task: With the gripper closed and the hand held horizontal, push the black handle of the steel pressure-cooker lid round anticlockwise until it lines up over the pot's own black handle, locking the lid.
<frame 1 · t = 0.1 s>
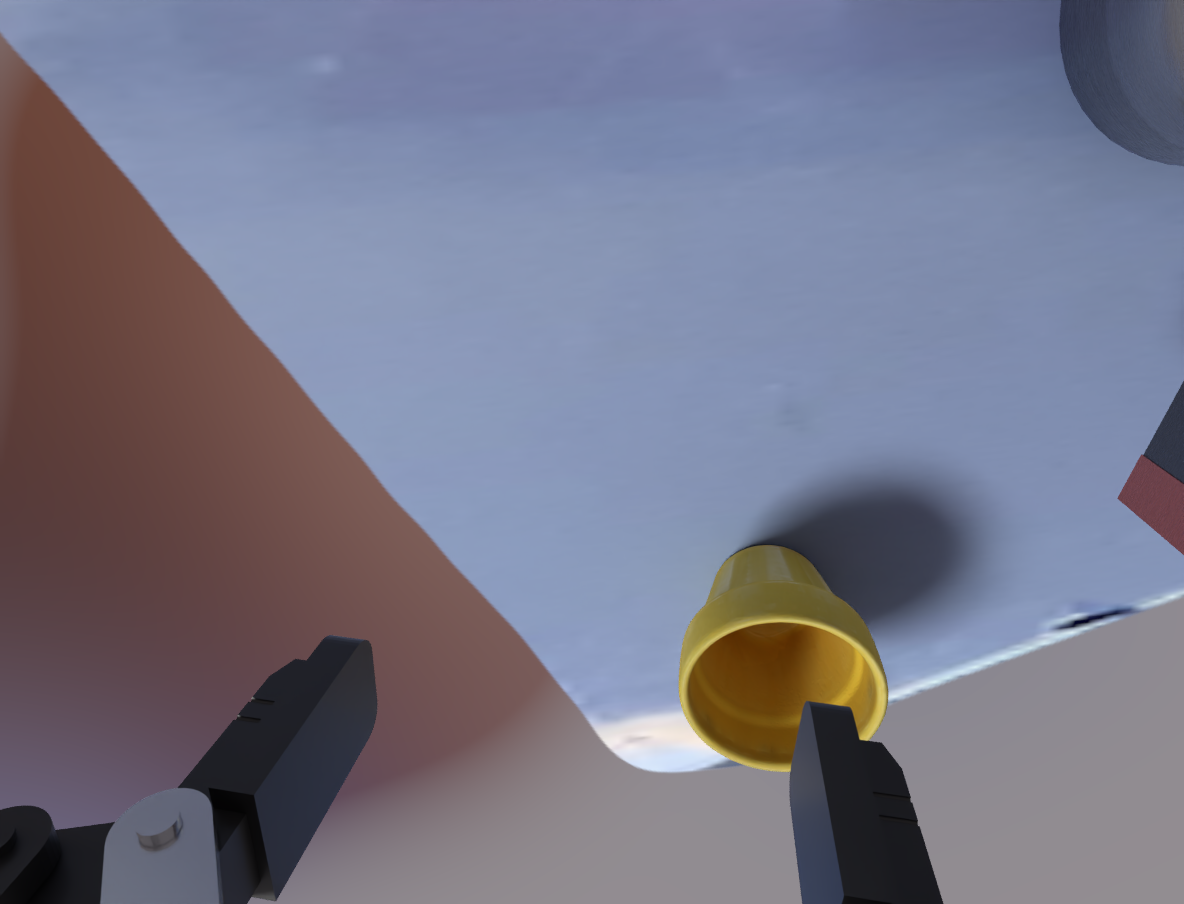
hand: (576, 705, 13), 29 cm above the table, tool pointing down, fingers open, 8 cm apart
plant pot: (766, 588, 45), on the table
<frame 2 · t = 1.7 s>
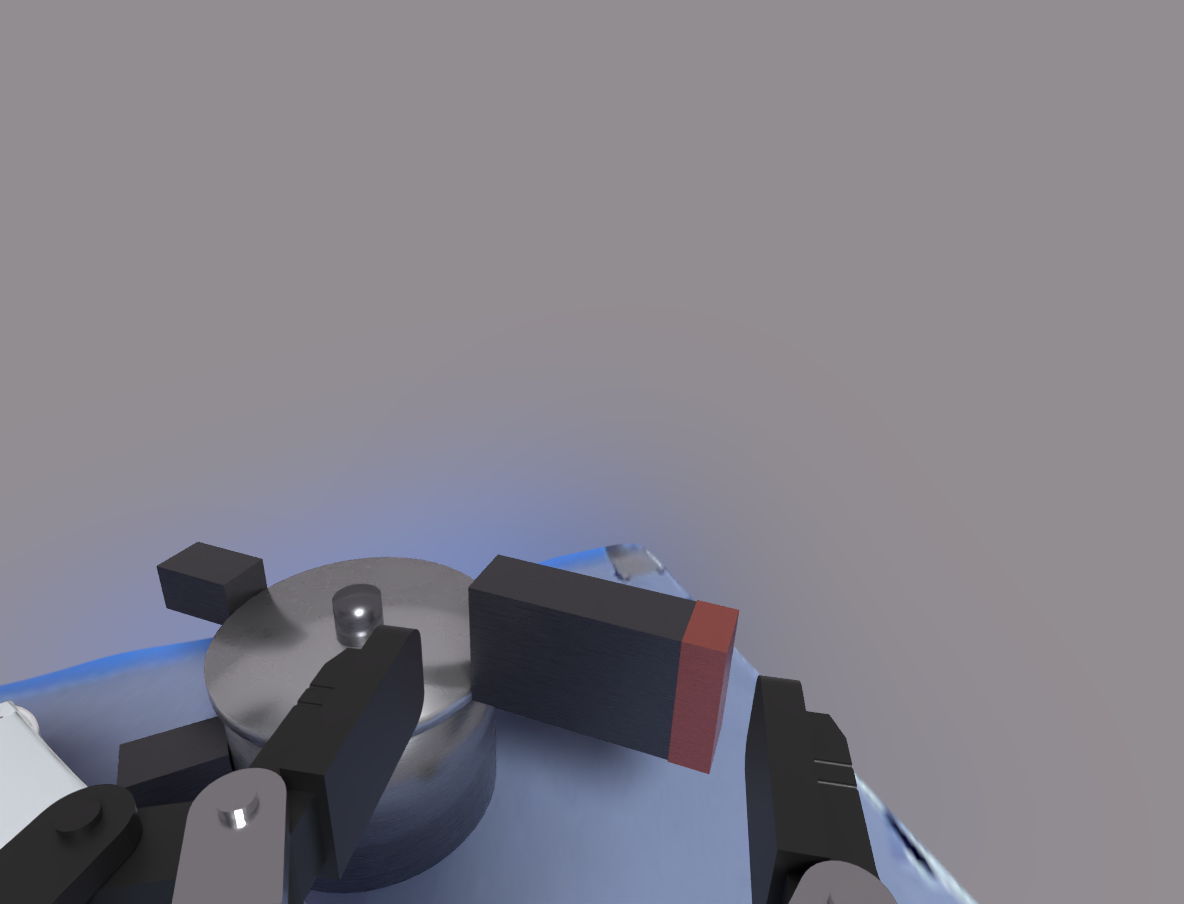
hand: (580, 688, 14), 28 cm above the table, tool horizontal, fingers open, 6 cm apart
pot: (376, 777, 45), on the table
lid: (415, 609, 39), point 14 cm above the table, hinge at 0.0°
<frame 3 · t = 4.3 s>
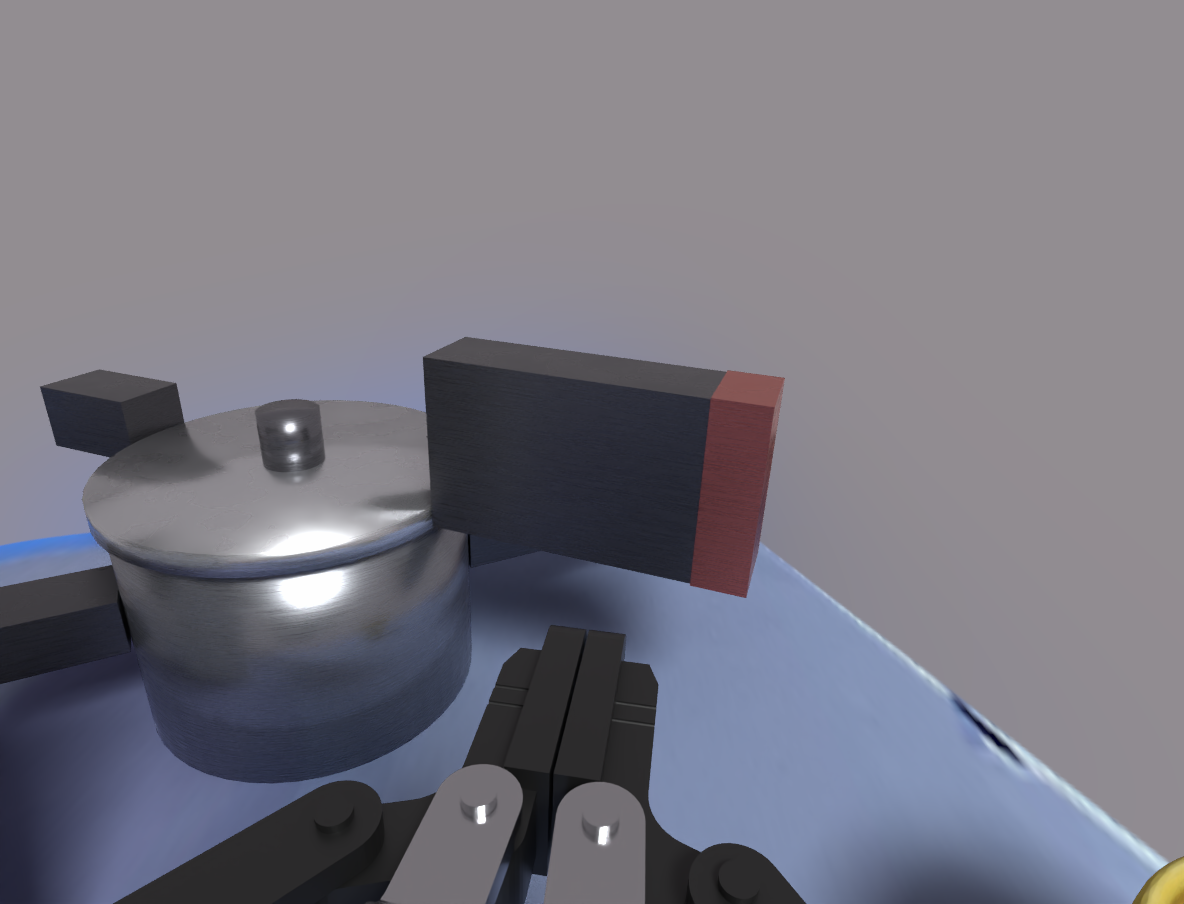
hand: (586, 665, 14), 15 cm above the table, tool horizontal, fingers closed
pot: (322, 661, 37), on the table
lid: (360, 417, 30), point 14 cm above the table, hinge at 0.0°
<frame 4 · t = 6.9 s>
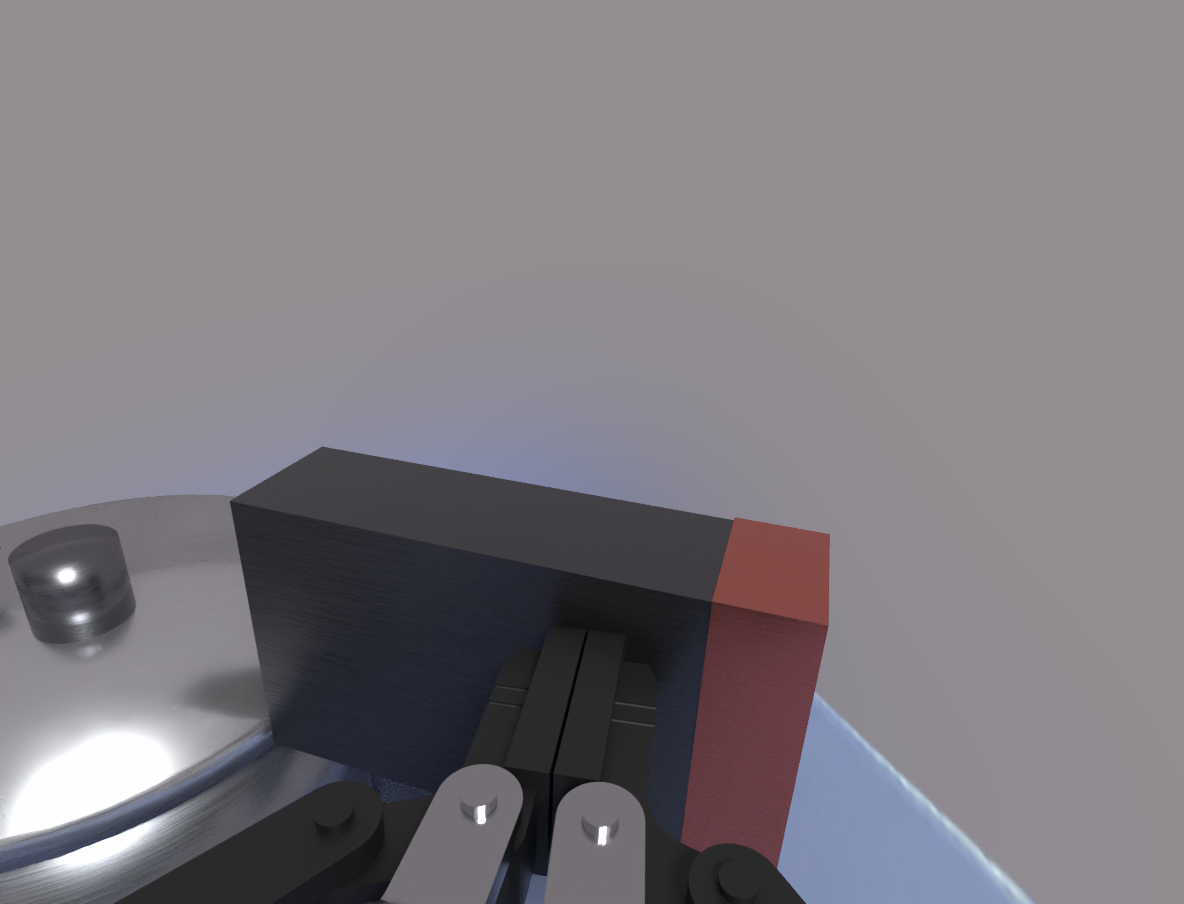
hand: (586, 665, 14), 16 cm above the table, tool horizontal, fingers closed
pot: (161, 871, 26), on the table
lid: (168, 565, 19), point 14 cm above the table, hinge at 1.6°, touching gripper
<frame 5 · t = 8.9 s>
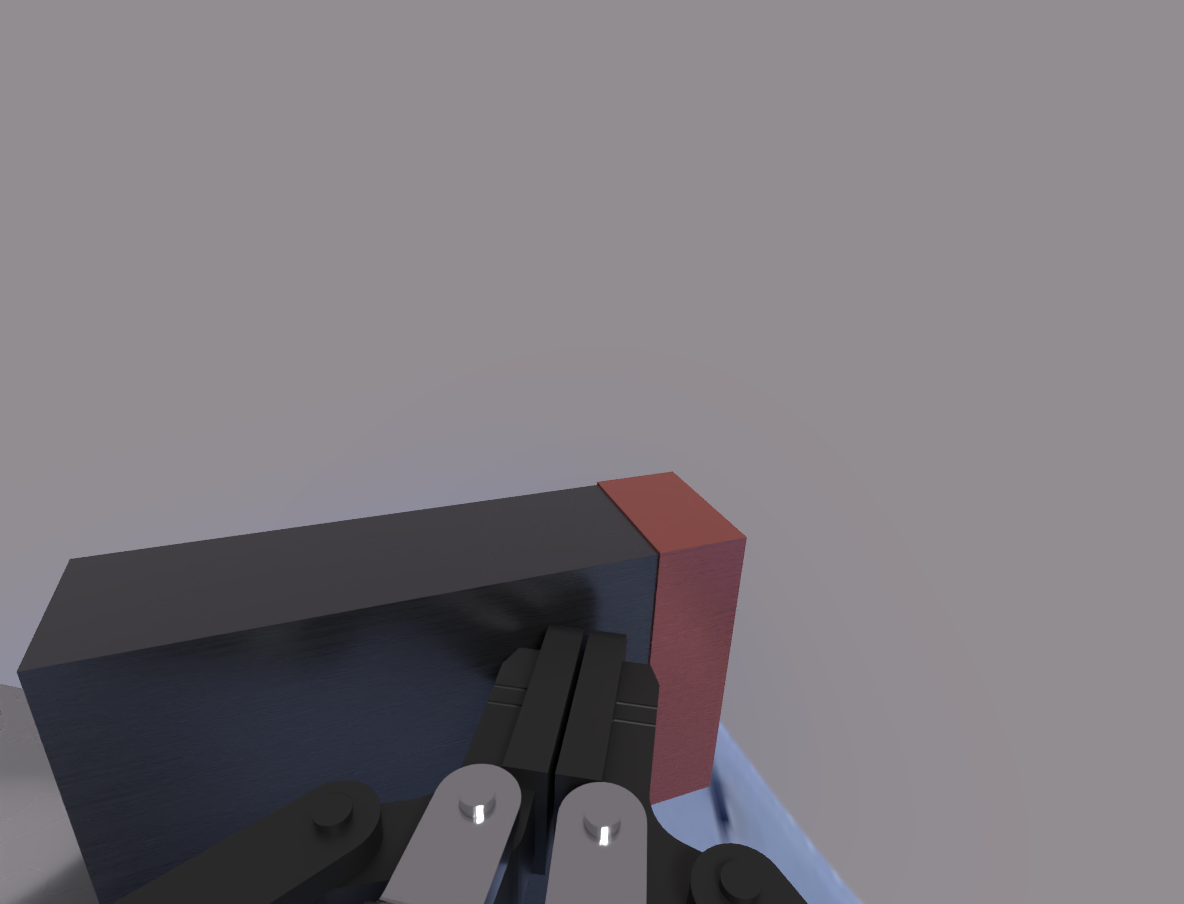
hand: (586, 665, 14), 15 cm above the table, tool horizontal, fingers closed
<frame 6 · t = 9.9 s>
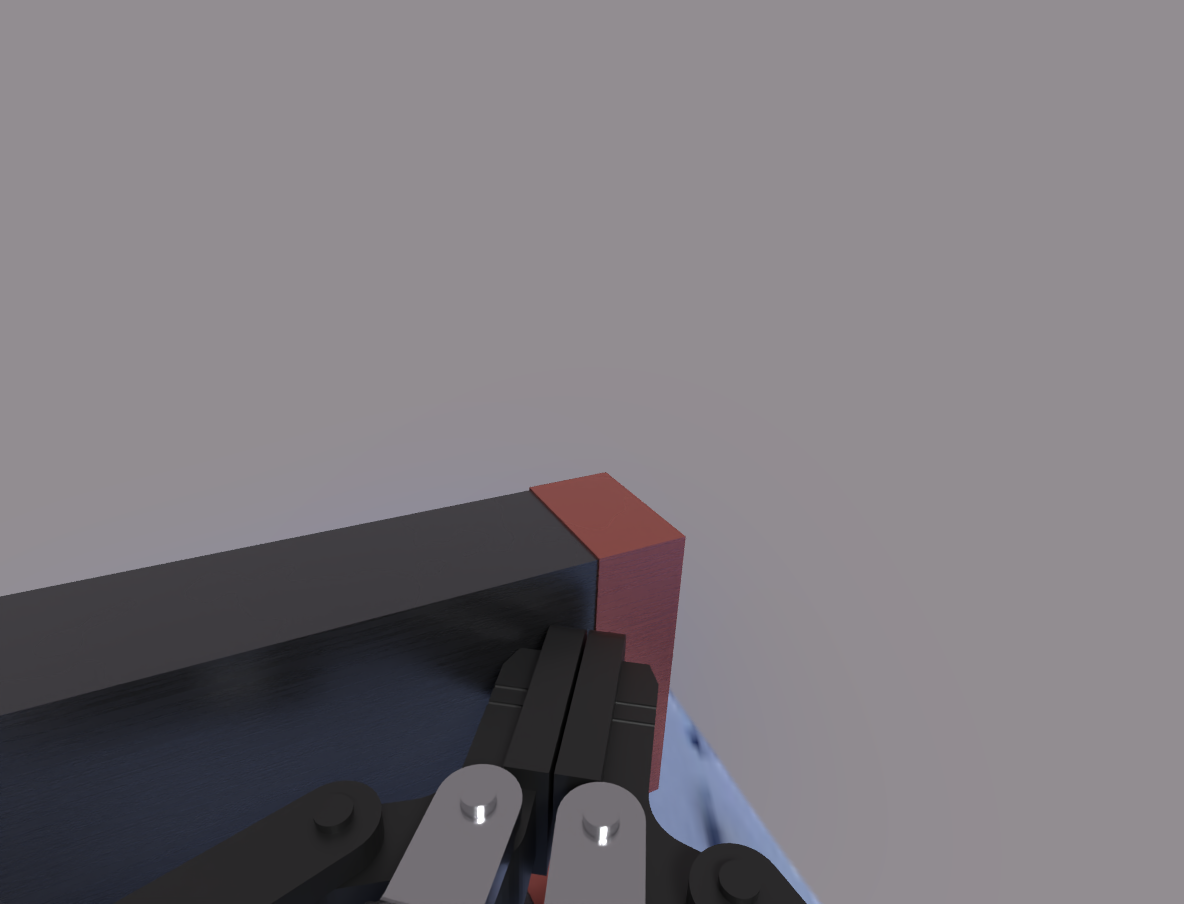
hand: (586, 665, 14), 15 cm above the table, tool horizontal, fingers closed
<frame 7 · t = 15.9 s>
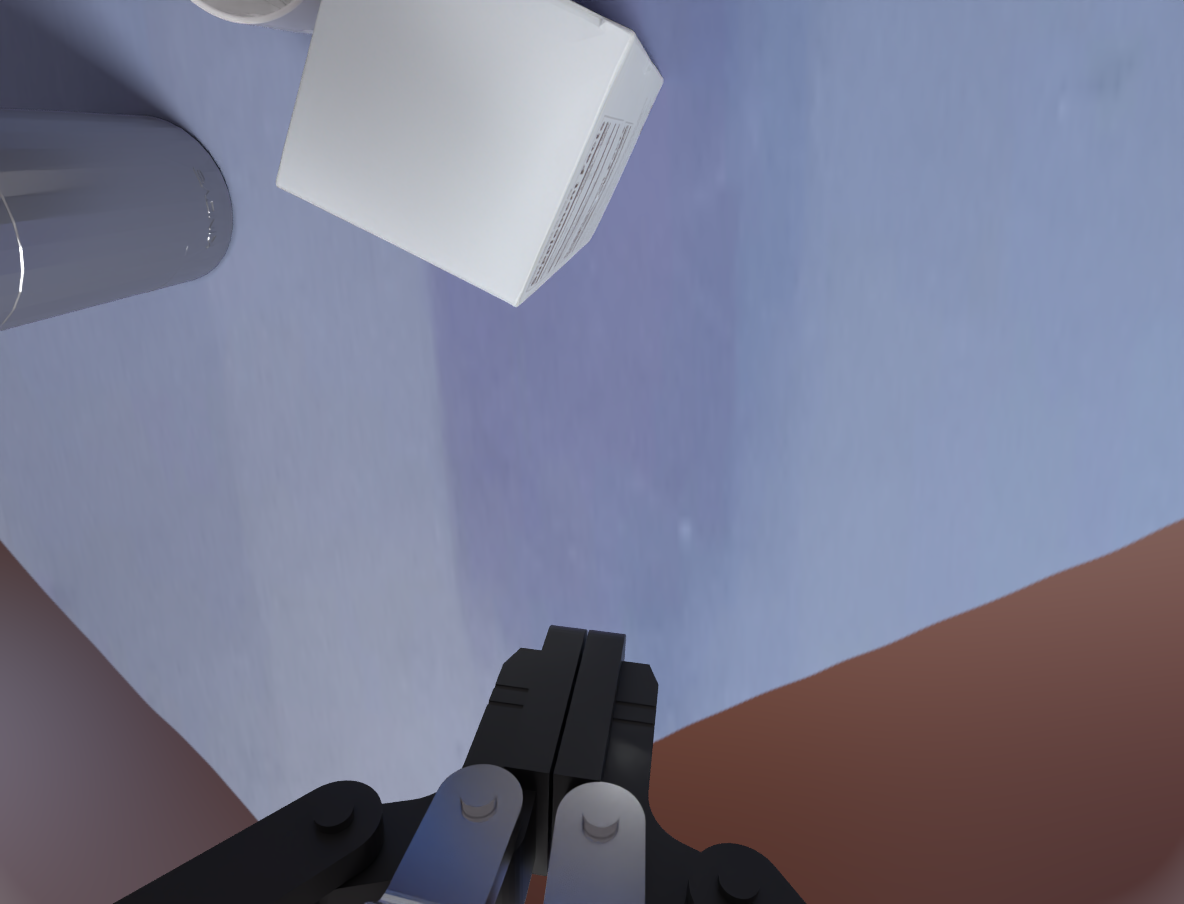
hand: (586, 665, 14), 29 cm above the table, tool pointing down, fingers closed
supplement box: (548, 124, 38), on the table
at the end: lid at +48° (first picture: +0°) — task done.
